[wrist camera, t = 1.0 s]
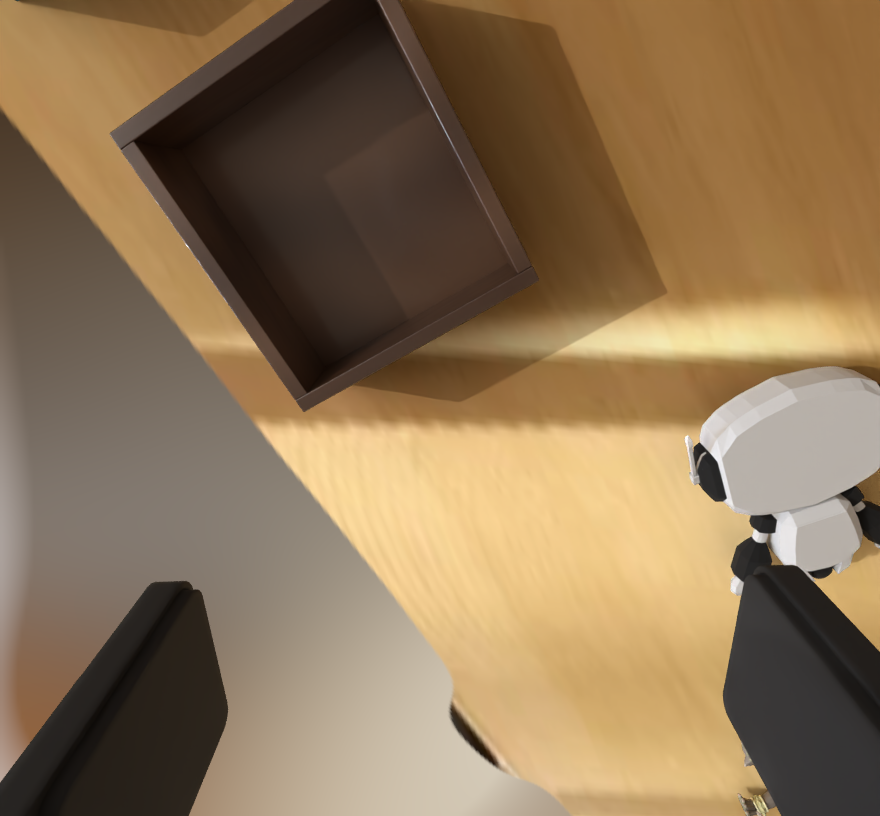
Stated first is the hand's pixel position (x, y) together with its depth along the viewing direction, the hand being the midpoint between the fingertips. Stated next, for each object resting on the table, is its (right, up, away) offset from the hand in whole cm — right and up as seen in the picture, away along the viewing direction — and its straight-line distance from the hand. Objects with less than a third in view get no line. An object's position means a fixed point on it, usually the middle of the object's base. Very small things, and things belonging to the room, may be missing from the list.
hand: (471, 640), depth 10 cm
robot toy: (+22, 0, +28) cm, 35 cm away
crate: (-6, +15, +22) cm, 27 cm away
